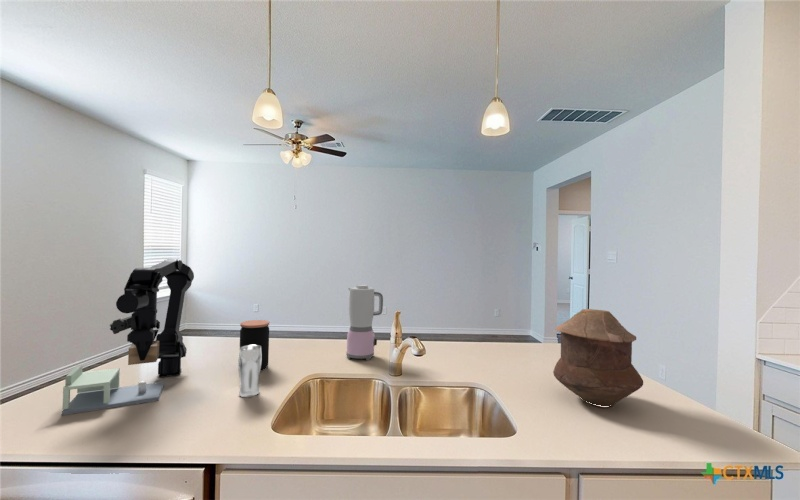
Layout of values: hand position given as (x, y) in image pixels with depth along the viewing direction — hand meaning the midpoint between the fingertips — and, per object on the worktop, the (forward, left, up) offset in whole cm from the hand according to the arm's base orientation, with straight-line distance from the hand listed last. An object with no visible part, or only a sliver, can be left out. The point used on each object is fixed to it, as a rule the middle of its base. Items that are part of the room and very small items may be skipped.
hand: (144, 357), depth 110 cm
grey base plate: (+6, 0, -12) cm, 13 cm away
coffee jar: (-34, -12, -12) cm, 38 cm away
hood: (+12, 0, -11) cm, 16 cm away
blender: (-79, -8, -12) cm, 80 cm away
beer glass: (-30, +13, -12) cm, 35 cm away
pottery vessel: (-130, +66, -12) cm, 146 cm away
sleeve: (0, 0, -1) cm, 1 cm away
